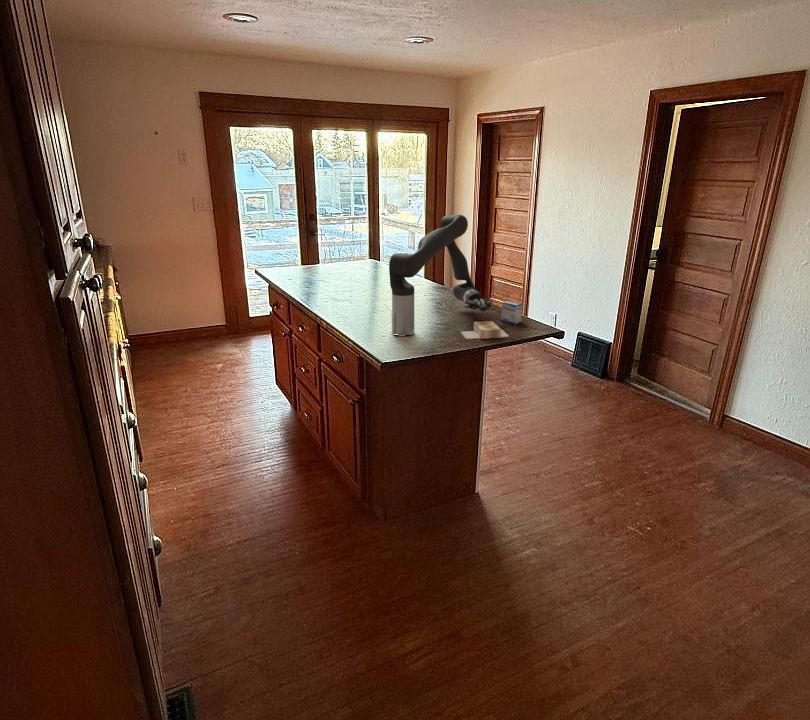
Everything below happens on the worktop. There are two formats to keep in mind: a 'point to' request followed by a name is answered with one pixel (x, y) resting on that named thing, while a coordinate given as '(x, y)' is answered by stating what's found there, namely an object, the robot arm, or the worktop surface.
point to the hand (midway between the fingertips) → (484, 309)
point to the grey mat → (475, 336)
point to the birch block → (487, 329)
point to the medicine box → (511, 312)
